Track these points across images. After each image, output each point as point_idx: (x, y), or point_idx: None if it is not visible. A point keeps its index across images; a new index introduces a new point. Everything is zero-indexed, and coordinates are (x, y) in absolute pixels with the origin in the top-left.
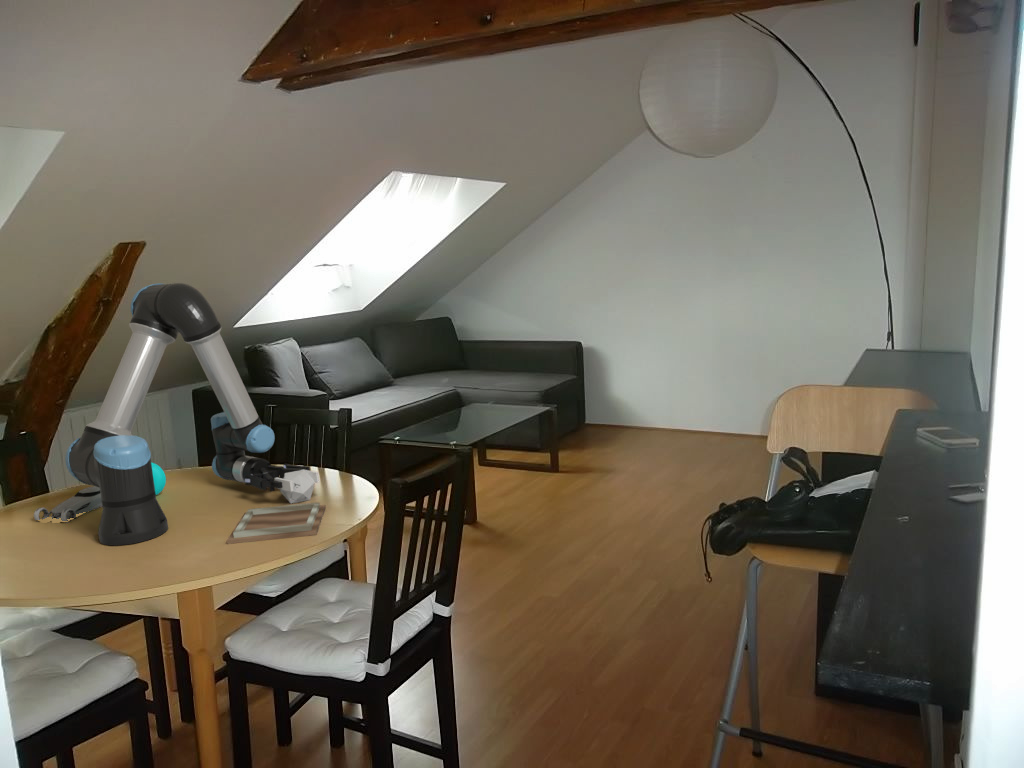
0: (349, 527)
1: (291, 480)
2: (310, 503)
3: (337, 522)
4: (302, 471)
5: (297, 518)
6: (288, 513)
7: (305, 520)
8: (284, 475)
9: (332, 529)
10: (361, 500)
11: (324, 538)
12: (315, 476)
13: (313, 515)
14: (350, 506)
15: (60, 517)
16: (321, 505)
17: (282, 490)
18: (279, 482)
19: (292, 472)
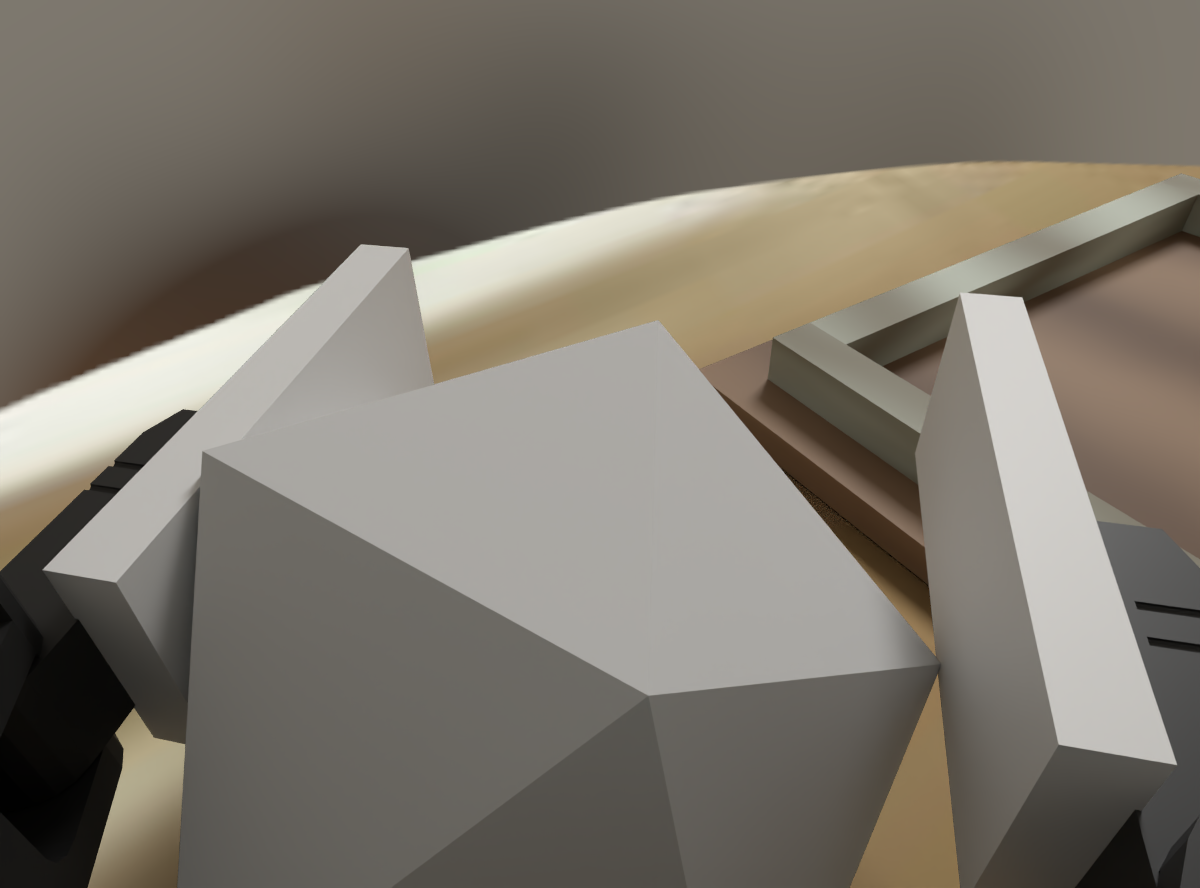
0: (921, 167)
1: (781, 486)
2: (846, 376)
3: (904, 224)
4: (374, 402)
5: (1120, 363)
6: (1117, 500)
7: (1092, 302)
8: (693, 720)
9: (1009, 198)
10: (428, 299)
11: (1131, 174)
12: (406, 324)
13: (1049, 231)
14: (587, 293)
15: None
16: (724, 388)
17: (847, 870)
18: (1121, 547)
19: (514, 529)
